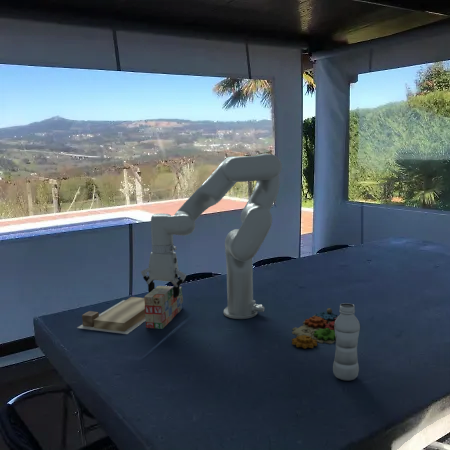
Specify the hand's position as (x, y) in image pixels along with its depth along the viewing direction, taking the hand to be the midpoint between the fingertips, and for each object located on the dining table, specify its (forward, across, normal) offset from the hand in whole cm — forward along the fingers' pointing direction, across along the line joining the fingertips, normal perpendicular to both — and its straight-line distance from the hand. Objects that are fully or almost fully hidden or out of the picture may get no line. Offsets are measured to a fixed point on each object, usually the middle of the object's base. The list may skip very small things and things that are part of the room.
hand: (163, 295), depth 163 cm
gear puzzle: (+9, -55, -4) cm, 56 cm away
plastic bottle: (+8, -66, +25) cm, 71 cm away
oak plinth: (+9, +13, +3) cm, 16 cm away
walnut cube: (+9, +22, +13) cm, 27 cm away
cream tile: (+10, +15, +2) cm, 18 cm away
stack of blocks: (+10, 0, -1) cm, 10 cm away
